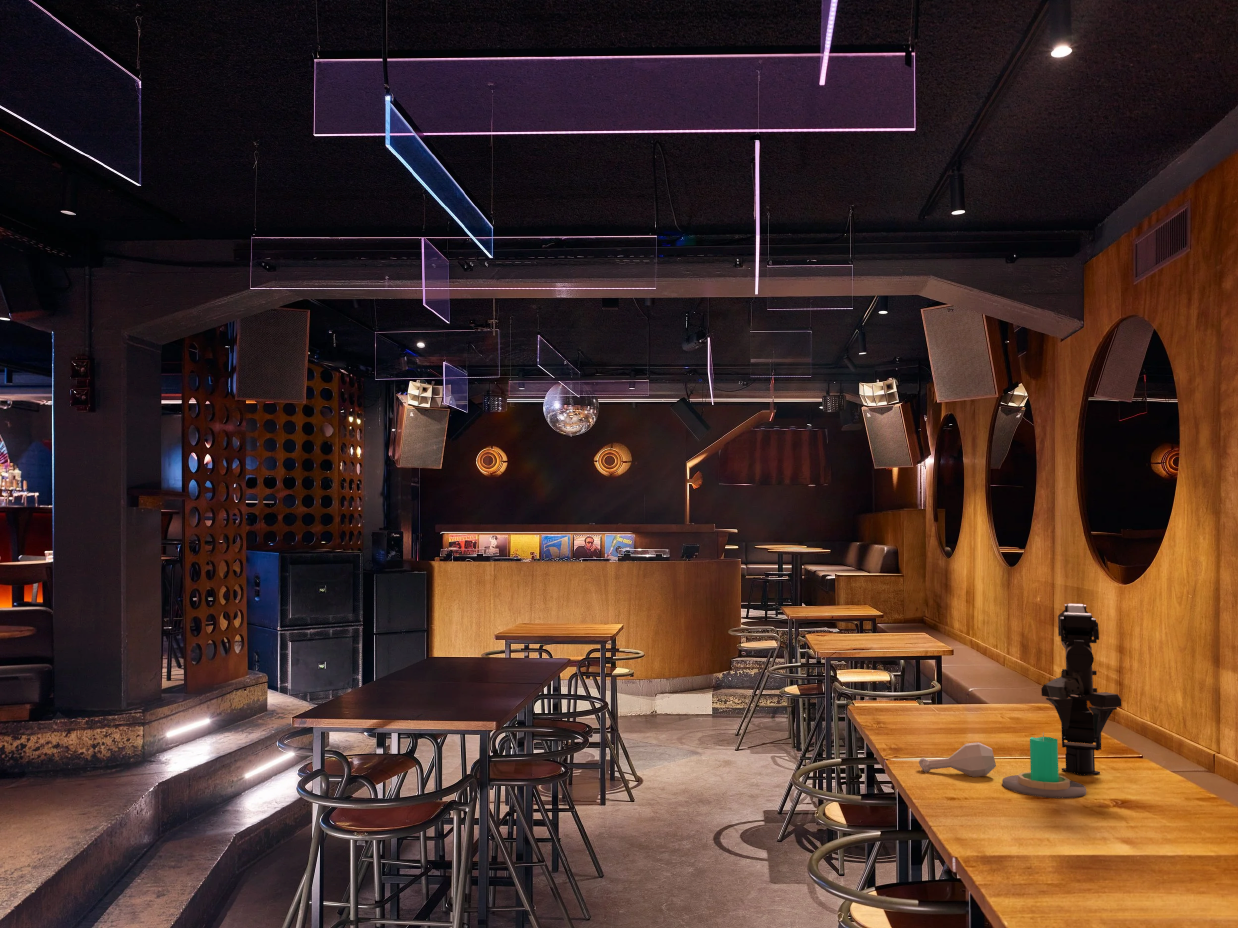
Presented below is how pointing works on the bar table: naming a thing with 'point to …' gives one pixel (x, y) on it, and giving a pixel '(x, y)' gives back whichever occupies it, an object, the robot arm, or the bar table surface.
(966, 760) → the chicken leg
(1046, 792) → the candle holder
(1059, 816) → the bar table surface
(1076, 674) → the robot arm
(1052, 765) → the candle
